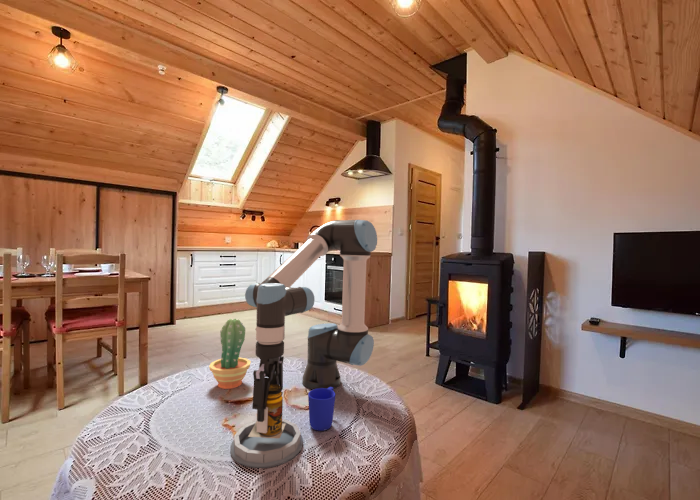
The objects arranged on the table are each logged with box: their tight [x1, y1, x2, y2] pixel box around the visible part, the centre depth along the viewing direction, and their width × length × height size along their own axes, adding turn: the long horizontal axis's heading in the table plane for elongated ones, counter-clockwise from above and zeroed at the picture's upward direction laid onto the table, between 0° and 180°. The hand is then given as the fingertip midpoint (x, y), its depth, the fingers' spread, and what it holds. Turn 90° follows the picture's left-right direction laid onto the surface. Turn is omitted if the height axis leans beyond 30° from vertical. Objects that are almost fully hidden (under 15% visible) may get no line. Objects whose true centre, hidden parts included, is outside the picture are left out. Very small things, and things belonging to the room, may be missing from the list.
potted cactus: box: [208, 318, 252, 390], centre depth 133 cm, size 15×15×25 cm
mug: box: [307, 387, 336, 432], centre depth 106 cm, size 8×12×10 cm
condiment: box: [248, 384, 285, 438], centre depth 93 cm, size 7×8×12 cm
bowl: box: [230, 418, 304, 469], centre depth 93 cm, size 19×19×3 cm
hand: (267, 425), depth 93 cm, fingers closed on condiment, 6 cm apart
